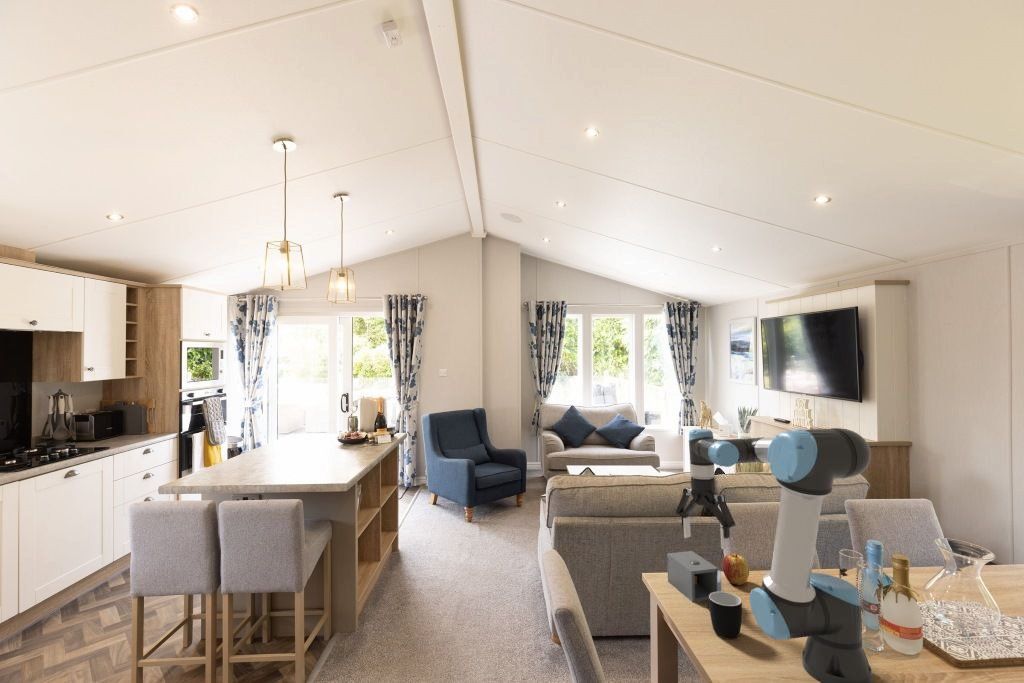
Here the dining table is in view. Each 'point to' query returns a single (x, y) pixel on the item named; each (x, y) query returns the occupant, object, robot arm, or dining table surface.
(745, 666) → the dining table surface
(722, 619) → the mug
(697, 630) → the dining table surface
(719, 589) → the door
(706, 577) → the case
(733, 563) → the apple
